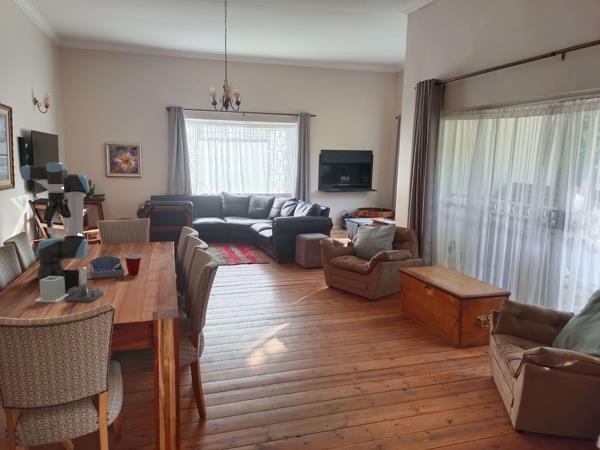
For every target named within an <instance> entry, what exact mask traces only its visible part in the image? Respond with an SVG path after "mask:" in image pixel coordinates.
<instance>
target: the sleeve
mask: <svg viewBox="0 0 600 450" xmlns="http://www.w3.org/2000/svg"><path fill="white" fill-rule="evenodd" d="M38 280H39V292H40V294H39V295H40V298H41V299H44V300H57V299H59V298H61V297H63V296H65V294H66V290H65V280H64V277H58V276H49V277H46V278H44V279H38Z"/></svg>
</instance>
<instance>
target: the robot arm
mask: <svg viewBox="0 0 600 450" xmlns="http://www.w3.org/2000/svg"><path fill="white" fill-rule="evenodd" d="M20 177H21V179H22V180H25V181H30V180H31V181H34V182H35V183H38V184H40V185H41V186H42V187H43V188H44V189H46V190H47V192H48V194H47V196H48V200H50V201H47V202H46V205H45V211H44V215H43V221H44V222H46V227H47V234H51V235H52V234H55V233H54V221H53V217H54V216H55V214H56V211H57V210H59V212H60V214H62V216H63V218H62V222H63V230H64V231H66V230H67V232H66V233H67V235H66V236H64V239H61V238H60V237H51V238H46V239H43V240H40V241H39V242H38V245H37V247H38V248H37V251H38V260H39V262H38V263H39V266H38V269H37V274H36V277H37V278H36V279H37V280H41V279H44V278H46V277H49V276H58V277H60V271H62V270H65V268H64V266H63V264H62V260H73V259H74V260H78V259H84V258H86V256H87V254H88V250H89V239H86V236H85V235H84V231H83V230H84V198H86V197H87V194H88V193H90V183H89V181H88V177H87V175H85V174H78V173H77V174H76V173H75V174H73V173H72V174H71V173H70V172H69V169H68V168H67V167H66V166H63V163H62V162H47V163H46V165H23V166H21V168H20ZM65 197H67V200H66V198H65Z"/></svg>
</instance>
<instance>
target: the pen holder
mask: <svg viewBox="0 0 600 450" xmlns="http://www.w3.org/2000/svg"><path fill="white" fill-rule="evenodd" d="M60 277H64V280H65V291H68V289H70V288H72V287H78V289H79V288H80V269H74V270H73V269H72V270H71V269H64V270H62V271H60Z"/></svg>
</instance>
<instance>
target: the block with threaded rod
mask: <svg viewBox="0 0 600 450" xmlns="http://www.w3.org/2000/svg"><path fill="white" fill-rule="evenodd" d="M78 270H79V286H80V289H79V288H78V287H72V288H70V289H68V290H67V294H68V295H67V296H65V297H64V299H63V301H65V302H85V303H92V302H94V301H95V300H97V299H98V298H101V297H103V296H104V290H101V289H100V287H96V286H95V287H94V288H92V289H90V290H88V282H87V281H88V279H87V278H88V277H87V267H86V266H81V267H79V269H78Z"/></svg>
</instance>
